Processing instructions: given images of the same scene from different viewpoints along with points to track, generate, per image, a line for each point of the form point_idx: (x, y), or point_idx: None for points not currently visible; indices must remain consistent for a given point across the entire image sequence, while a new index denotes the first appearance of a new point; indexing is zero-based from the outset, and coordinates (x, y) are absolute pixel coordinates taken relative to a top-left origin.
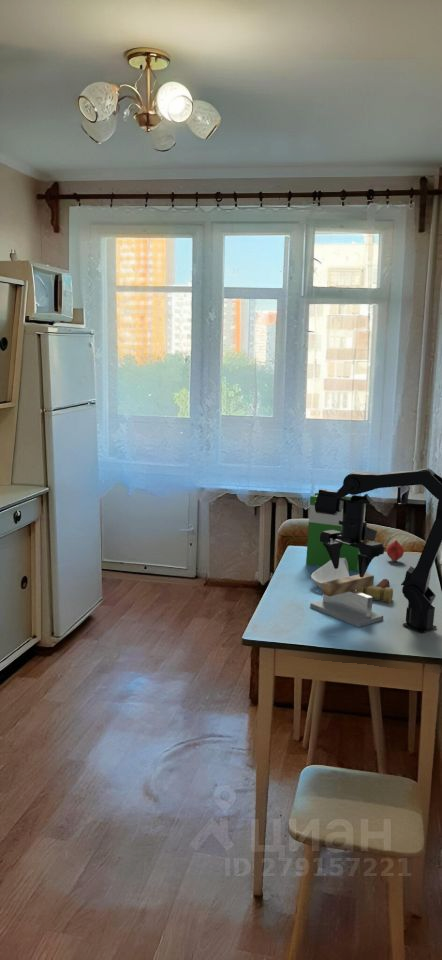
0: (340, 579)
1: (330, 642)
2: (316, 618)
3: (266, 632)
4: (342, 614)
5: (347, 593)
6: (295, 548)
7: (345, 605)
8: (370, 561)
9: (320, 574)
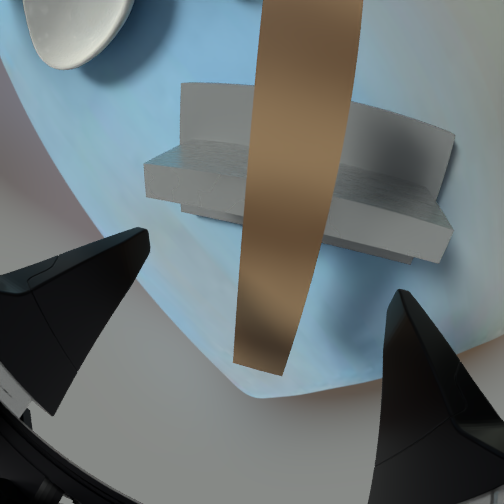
0: (252, 283)
1: (377, 366)
2: None
3: (251, 380)
4: None
5: None
6: None
7: None
8: (484, 410)
9: (44, 12)
